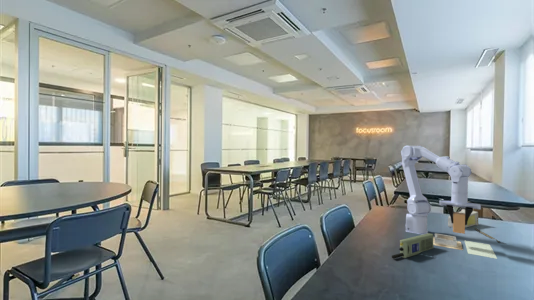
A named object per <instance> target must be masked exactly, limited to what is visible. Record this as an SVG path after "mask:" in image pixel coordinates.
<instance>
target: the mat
mask: <svg viewBox="0 0 534 300" xmlns="http://www.w3.org/2000/svg"><path fill="white" fill-rule="evenodd" d="M464 244H465V247H466V251H467V254H469V255H474V256H480V257H484V258H491V259H495V260H496V259H498V257H497V255H496V253H495V252H494V249H493V248H492V245H490V244H488V243H482V242H476V241H470V240H464Z"/></svg>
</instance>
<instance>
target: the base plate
mask: <svg viewBox="0 0 534 300" xmlns="http://www.w3.org/2000/svg"><path fill="white" fill-rule="evenodd" d="M434 241H435V236H433V245H434V246H437V247H440V248H441V247H442V248H447V249H454V250H460V251H464V249H463V246H462V245H463V244H462V242H461V241H457V248H456V247H450V246H444V245H439V244H434Z"/></svg>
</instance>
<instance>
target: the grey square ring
mask: <svg viewBox="0 0 534 300" xmlns="http://www.w3.org/2000/svg"><path fill="white" fill-rule="evenodd" d="M434 237H435V241H434V244H439V245H444V246H450V247H456V248H457V236H456V235H454V236H453V235H449V234H448V235H447V234H441V233H434Z"/></svg>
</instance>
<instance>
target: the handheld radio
mask: <svg viewBox="0 0 534 300" xmlns="http://www.w3.org/2000/svg"><path fill="white" fill-rule="evenodd" d="M433 237H434V234H433V233H429V232H428V233H427V234H418V235H417V236H416V235H415V236H411V237H408V238H403V239H400V240H399V249H398V250H399V253H396V254H392V255H391V258H392V259H393V260H394V259H398V258H404V259H407V258H409V257H413V256H416V255H420V254H421V253H423V252H425V251H426V252H427V251H429V250H432V249H434V246H435V245H433Z"/></svg>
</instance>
